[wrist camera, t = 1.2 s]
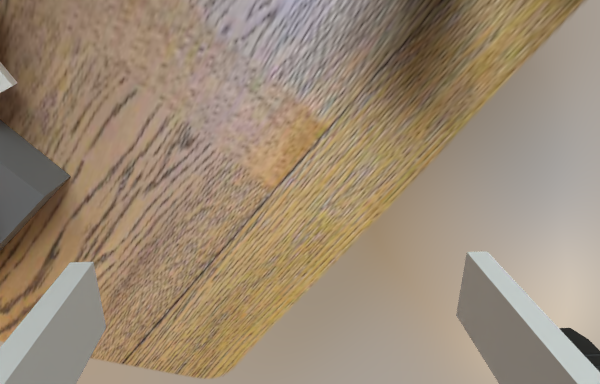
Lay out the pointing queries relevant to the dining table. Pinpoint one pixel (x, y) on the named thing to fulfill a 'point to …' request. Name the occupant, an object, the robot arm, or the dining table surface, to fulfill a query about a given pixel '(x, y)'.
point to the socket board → (23, 182)
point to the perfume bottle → (5, 79)
